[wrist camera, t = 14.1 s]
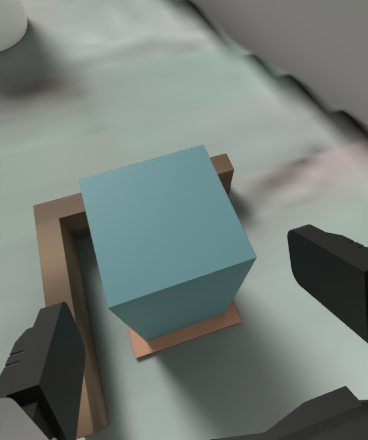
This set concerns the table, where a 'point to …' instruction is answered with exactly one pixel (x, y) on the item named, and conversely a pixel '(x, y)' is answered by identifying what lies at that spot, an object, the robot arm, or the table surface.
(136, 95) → the table surface
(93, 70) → the table surface
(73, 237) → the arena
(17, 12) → the cup
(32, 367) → the robot arm
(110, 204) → the teal block
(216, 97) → the table surface
